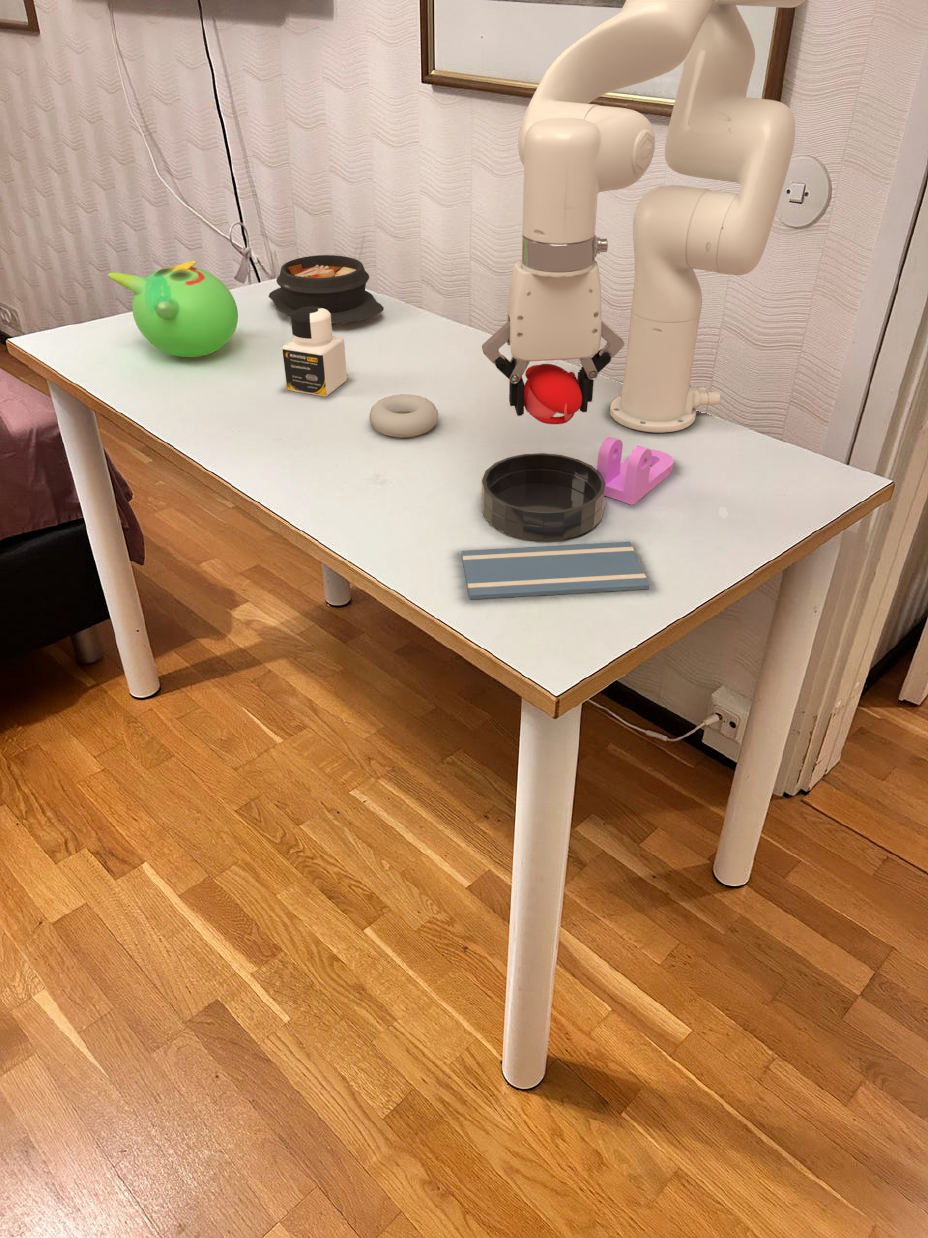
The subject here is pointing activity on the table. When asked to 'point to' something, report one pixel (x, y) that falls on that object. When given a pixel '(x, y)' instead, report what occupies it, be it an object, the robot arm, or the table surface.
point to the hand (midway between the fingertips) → (550, 407)
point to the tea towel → (552, 570)
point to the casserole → (326, 288)
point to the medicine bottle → (314, 354)
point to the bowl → (543, 496)
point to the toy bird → (182, 309)
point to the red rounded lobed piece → (551, 393)
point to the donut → (403, 415)
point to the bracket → (631, 470)
